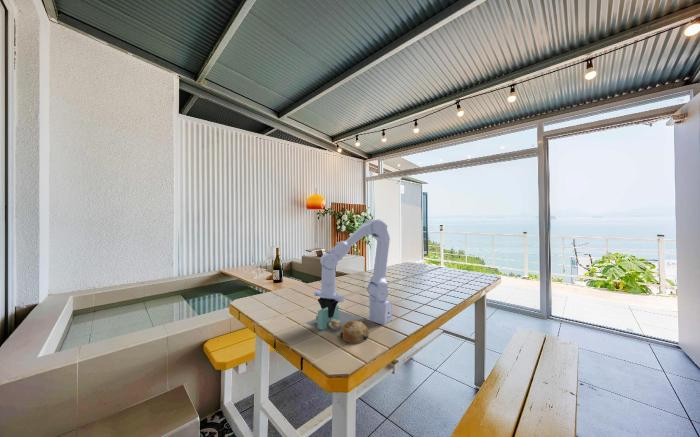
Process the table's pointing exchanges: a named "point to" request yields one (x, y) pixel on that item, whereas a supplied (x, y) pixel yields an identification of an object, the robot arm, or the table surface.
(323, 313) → the teal board
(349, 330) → the bread roll
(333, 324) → the birch u-shaped block
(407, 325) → the table surface
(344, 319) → the mat
